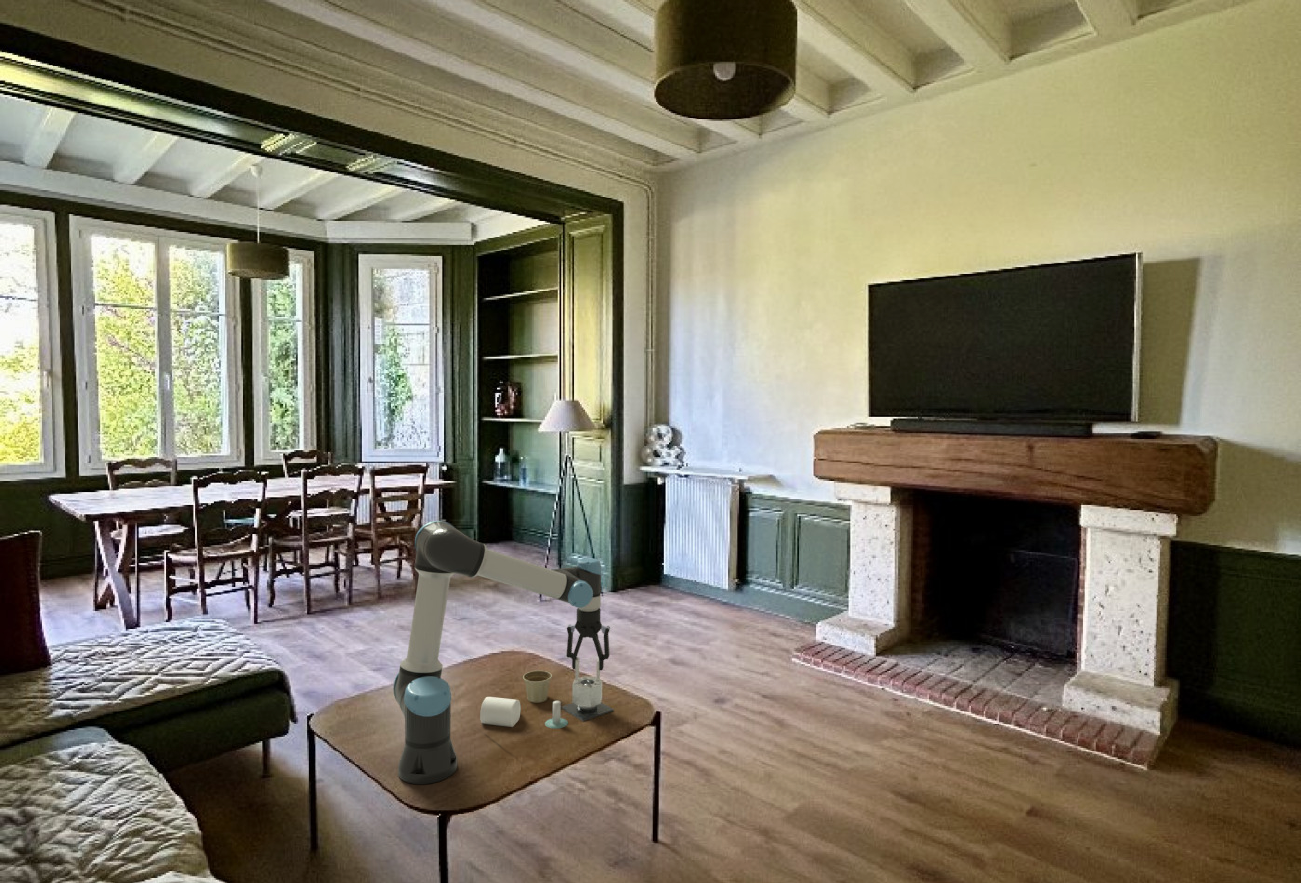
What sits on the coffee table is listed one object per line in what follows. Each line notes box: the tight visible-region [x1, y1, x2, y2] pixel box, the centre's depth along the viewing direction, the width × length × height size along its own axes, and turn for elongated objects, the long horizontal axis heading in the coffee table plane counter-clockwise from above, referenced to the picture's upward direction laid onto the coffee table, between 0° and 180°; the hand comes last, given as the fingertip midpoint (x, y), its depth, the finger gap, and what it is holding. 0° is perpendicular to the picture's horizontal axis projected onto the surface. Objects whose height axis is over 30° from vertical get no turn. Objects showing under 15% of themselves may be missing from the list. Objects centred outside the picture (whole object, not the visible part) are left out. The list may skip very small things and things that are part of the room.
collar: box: [571, 676, 603, 707], centre depth 230 cm, size 9×9×6 cm
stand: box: [544, 700, 569, 730], centre depth 221 cm, size 7×7×8 cm
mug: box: [479, 696, 522, 728], centre depth 223 cm, size 12×10×8 cm
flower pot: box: [522, 670, 553, 703], centre depth 238 cm, size 9×9×9 cm
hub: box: [561, 682, 615, 722], centre depth 231 cm, size 12×12×9 cm
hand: (587, 679), depth 230 cm, fingers open, 6 cm apart
